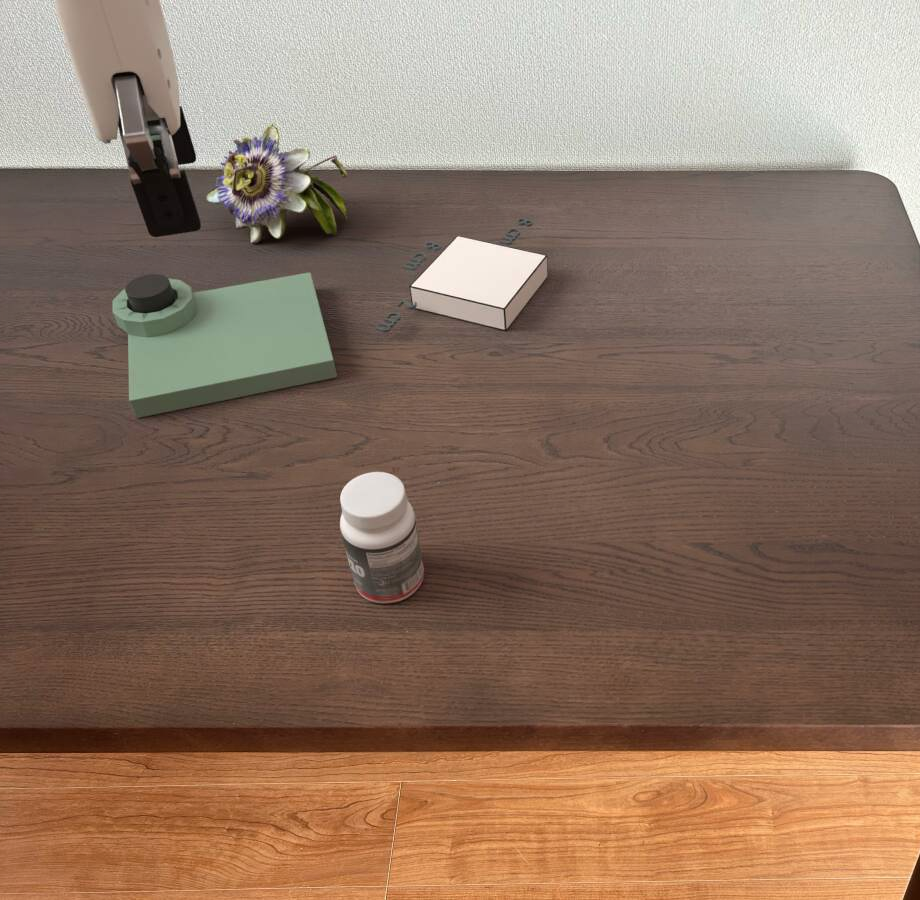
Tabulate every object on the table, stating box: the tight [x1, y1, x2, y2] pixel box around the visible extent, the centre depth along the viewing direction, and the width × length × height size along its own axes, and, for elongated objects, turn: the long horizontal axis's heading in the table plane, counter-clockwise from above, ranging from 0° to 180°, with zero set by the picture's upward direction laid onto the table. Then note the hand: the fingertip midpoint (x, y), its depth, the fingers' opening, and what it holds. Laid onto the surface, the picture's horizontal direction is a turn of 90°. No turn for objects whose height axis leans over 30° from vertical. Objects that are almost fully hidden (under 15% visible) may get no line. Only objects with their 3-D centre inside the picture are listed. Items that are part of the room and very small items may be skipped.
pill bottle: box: [339, 471, 425, 604], centre depth 63 cm, size 5×5×8 cm
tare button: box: [124, 273, 175, 314], centre depth 83 cm, size 4×4×2 cm
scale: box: [112, 271, 338, 419], centre depth 83 cm, size 17×15×4 cm
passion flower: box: [205, 123, 348, 244], centre depth 97 cm, size 11×11×12 cm
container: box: [374, 217, 549, 333], centre depth 91 cm, size 20×12×3 cm, turn 159°
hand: (175, 196), depth 66 cm, fingers open, 9 cm apart
